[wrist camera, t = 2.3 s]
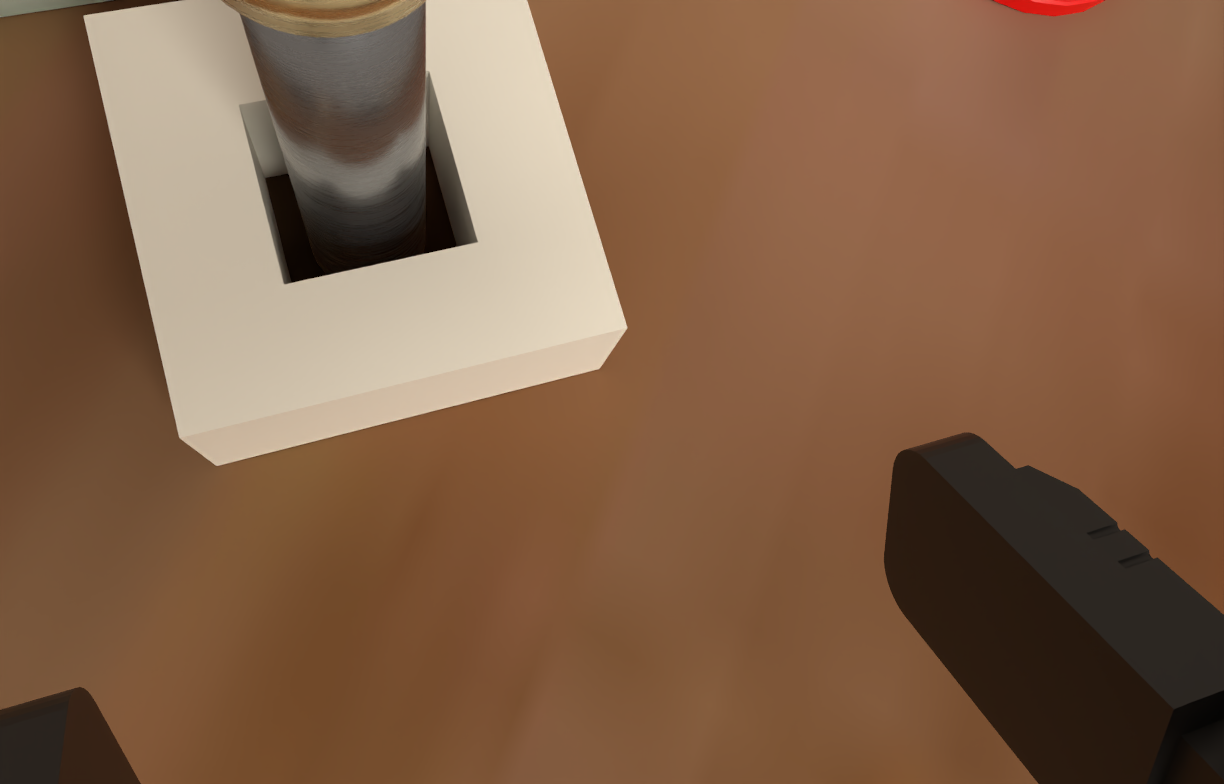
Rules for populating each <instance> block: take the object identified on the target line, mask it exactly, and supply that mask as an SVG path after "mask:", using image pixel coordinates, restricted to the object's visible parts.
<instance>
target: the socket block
mask: <svg viewBox="0 0 1224 784" xmlns="http://www.w3.org/2000/svg"><path fill="white" fill-rule="evenodd" d="M83 16H84V21H85V25H86V29H87V34H88V38H89V43H90V47H91V51H92V56H93V60H94V65H95V69H96V73H97V78H98V82H99V87H100V91H101V95H102V100H103V104H104V109H105V113H106V117H107V122H108V126H109V131H110V135H111V139H112V144H113V148H114V153H115V157H116V161H117V166H118V170H119V175H120V179H121V183H122V188H123V192H124V197H125V201H126V205H127V210H128V214H129V219H130V223H131V227H132V232H133V236H134V241H135V245H136V249H137V254H138V258H139V262H140V267H141V271H142V276H143V280H144V284H145V289H146V293H147V298H148V302H149V306H150V311H151V315H152V320H153V324H154V328H155V333H156V337H157V342H158V346H159V350H160V355H161V359H162V364H163V368H164V372H165V377H166V381H167V386H168V390H169V394H170V399H171V403H172V408H173V412H174V416H175V421H176V425H177V430H178V434H179V438H180V439H181V440H183V441H184V442H185V443H187V444H188V445H189V446H191V447H192V448H193V449H195V450H196V451H197V452H199V453H200V454H201V455H203V456H204V457H205V458H207V459H208V460H209V461H211V462H212V463H213V464H215V465H216V466H219V465H223V464H227V463H231V462H235V461H239V460H243V459H246V458H250V457H254V456H258V455H262V454H266V453H270V452H274V451H278V450H282V449H286V448H290V447H294V446H298V445H302V444H306V443H310V442H313V441H317V440H321V439H325V438H329V437H333V436H337V435H341V434H345V433H349V432H353V431H357V430H361V429H365V428H369V427H373V426H376V425H380V424H384V423H388V422H392V421H396V420H400V419H404V418H408V417H412V416H416V415H420V414H424V413H428V412H432V411H436V410H439V409H443V408H447V407H451V406H455V405H459V404H463V403H467V402H471V401H475V400H479V399H483V398H487V397H491V396H495V395H499V394H503V393H506V392H510V391H514V390H518V389H522V388H526V387H530V386H534V385H538V384H542V383H546V382H550V381H554V380H558V379H562V378H566V377H569V376H573V375H577V374H581V373H585V372H589V371H593V370H597V369H600V367H601V366H602V364H603V363H604V361H605V360H606V358H607V357H608V356H609V354H610V353H611V351H612V350H613V348H614V347H615V345H616V344H617V342H618V341H619V339H620V338H621V337H622V335H623V334H624V332H625V331H626V329H627V325H626V322H625V318H624V315H623V312H622V309H621V305H620V302H619V299H618V296H617V292H616V289H615V286H614V283H613V279H612V276H611V273H610V270H609V266H608V263H607V260H606V257H605V253H604V250H603V247H602V243H601V240H600V237H599V234H598V230H597V227H596V224H595V221H594V217H593V214H592V211H591V208H590V204H589V201H588V198H587V195H586V191H585V188H584V185H583V182H582V178H581V175H580V172H579V168H578V165H577V162H576V159H575V155H574V152H573V149H572V146H571V142H570V139H569V136H568V133H567V129H566V126H565V123H564V120H563V116H562V113H561V110H560V106H559V103H558V100H557V97H556V93H555V90H554V87H553V84H552V80H551V77H550V74H549V71H548V67H547V64H546V61H545V58H544V54H543V51H542V48H541V45H540V41H539V38H538V35H537V31H536V28H535V25H534V22H533V18H532V15H531V12H530V9H529V5H528V2H527V0H426V147H427V146H429V149H430V153H431V156H432V160H433V163H434V167H435V170H436V174H437V177H438V181H439V185H440V188H441V192H442V195H443V199H444V202H445V206H446V209H447V213H448V217H449V220H450V224H451V227H452V231H453V234H454V238H455V241H456V245H457V247H454V248H449V249H445V250H440V251H436V252H431V253H426V254H422V255H417V256H413V257H408V258H403V259H399V260H394V261H390V262H385V263H381V264H376V265H371V266H367V267H362V268H358V269H353V270H348V271H344V272H339V273H335V274H330V275H326V276H321V277H316V278H312V279H307V280H303V281H298V282H293V283H292V282H291V278H290V274H289V270H288V266H287V262H286V259H285V255H284V251H283V247H282V243H281V239H280V235H279V231H278V227H277V223H276V219H275V215H274V211H273V207H272V203H271V199H270V195H269V191H268V187H267V183H266V179H265V178H268V177H273V176H278V175H283V174H288V170H287V167H286V164H285V160H284V157H283V154H282V151H281V147H280V144H279V141H278V138H277V134H276V131H275V128H274V125H273V121H272V118H271V115H270V111H269V108H268V105H267V102H266V98H265V95H264V92H263V89H262V85H261V82H260V79H259V75H258V72H257V69H256V66H255V62H254V59H253V56H252V53H251V49H250V46H249V43H248V40H247V36H246V33H245V30H244V26H243V23H242V20H241V17H240V13H238V12H237V11H235V10H234V9H232V8H231V7H229V6H228V5H226V4H225V3H224V2H223V1H221V0H181V1H175V2H168V3H162V4H155V5H148V6H142V7H135V8H129V9H122V10H116V11H109V12H103V13H96V14H90V15H83Z"/></svg>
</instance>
